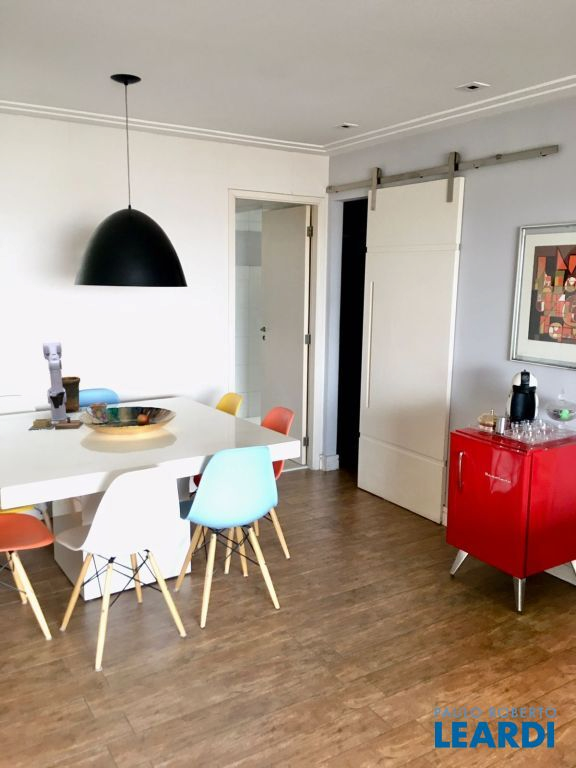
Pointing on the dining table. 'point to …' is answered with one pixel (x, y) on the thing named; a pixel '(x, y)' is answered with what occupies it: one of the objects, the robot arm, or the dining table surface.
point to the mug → (98, 411)
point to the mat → (44, 427)
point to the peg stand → (68, 424)
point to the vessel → (71, 393)
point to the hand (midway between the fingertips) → (58, 406)
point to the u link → (42, 423)
